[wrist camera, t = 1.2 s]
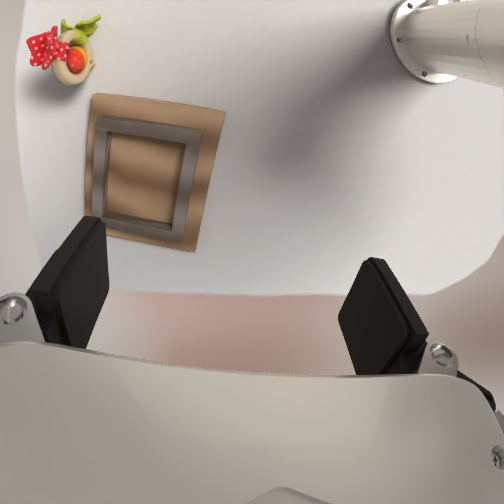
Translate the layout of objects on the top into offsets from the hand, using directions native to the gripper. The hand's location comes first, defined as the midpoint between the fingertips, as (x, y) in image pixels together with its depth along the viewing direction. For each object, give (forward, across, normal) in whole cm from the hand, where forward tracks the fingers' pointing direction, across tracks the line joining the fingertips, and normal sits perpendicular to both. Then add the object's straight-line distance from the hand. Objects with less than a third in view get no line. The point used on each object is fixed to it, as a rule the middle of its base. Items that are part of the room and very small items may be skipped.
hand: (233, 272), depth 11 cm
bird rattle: (+31, +20, -8) cm, 38 cm away
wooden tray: (+31, +10, +9) cm, 34 cm away
